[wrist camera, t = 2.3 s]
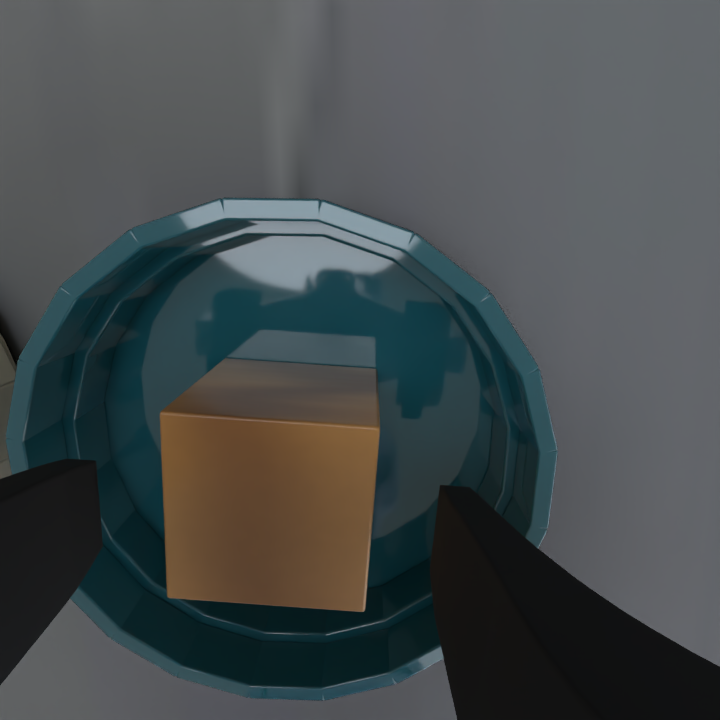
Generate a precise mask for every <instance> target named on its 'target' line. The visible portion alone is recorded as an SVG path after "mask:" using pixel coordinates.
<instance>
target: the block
mask: <svg viewBox="0 0 720 720" xmlns="http://www.w3.org/2000/svg"><path fill="white" fill-rule="evenodd" d="M160 434H161V458H162V483H163V508H164V533H165V557H166V582H167V597H168V598H176V599H190V600H203V601H217V602H231V603H245V604H259V605H272V606H286V607H300V608H314V609H328V610H341V611H355V612H364V610H365V608H366V595H367V583H368V571H369V559H370V547H371V534H372V522H373V510H374V498H375V486H376V473H377V461H378V449H379V437H380V416H379V394H378V373H377V369H372V368H358V367H344V366H329V365H315V364H301V363H286V362H272V361H258V360H243V359H229V358H225V359H223V360H222V361H221V362H220V363H219V364H217V365H216V366H215V367H214V368H213V369H211V370H210V371H209V372H208V373H207V374H205V375H204V376H203V377H202V378H200V379H199V380H198V381H197V382H196V383H194V384H193V385H192V386H191V387H190V388H188V389H187V390H186V391H185V392H184V393H182V394H181V395H180V396H179V397H177V398H176V399H175V400H174V401H173V402H171V403H170V404H169V405H168V406H167V407H165V408H164V409H163V410H162V411H161V412H160Z"/></svg>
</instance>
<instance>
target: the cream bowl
mask: <svg viewBox="0 0 720 720" xmlns="http://www.w3.org/2000/svg"><path fill="white" fill-rule="evenodd" d="M16 368H17V366H16V364H15V362H14V360H13V358H12V355H11V353H10V351H9V349H8V347H7V344H6V342H5V340H4V339H3V337H2V335H1V334H0V479H2V478H4V477H7V476H10V475H12V474H11V469H10V463H9V458H8V452H7V447H6V441H5V440H6V437H5V435H6V429H7V423H8V417H9V411H10V404H11V398H12V392H13V386H14V380H15V374H16Z"/></svg>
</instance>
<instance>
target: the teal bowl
mask: <svg viewBox="0 0 720 720" xmlns="http://www.w3.org/2000/svg"><path fill="white" fill-rule="evenodd" d="M225 358H229V359H243V360H258V361H272V362H286V363H301V364H315V365H329V366H344V367H358V368H372V369H377V373H378V394H379V416H380V437H379V449H378V461H377V473H376V486H375V498H374V510H373V522H372V534H371V547H370V559H369V571H368V583H367V595H366V608H365V610H364V612H355V611H341V610H328V609H314V608H300V607H286V606H272V605H259V604H245V603H231V602H217V601H203V600H190V599H176V598H168V597H167V582H166V557H165V533H164V508H163V483H162V458H161V434H160V412H161V411H162V410H163V409H164V408H165V407H167V406H168V405H169V404H170V403H171V402H173V401H174V400H175V399H176V398H177V397H179V396H180V395H181V394H182V393H184V392H185V391H186V390H187V389H188V388H190V387H191V386H192V385H193V384H194V383H196V382H197V381H198V380H199V379H200V378H202V377H203V376H204V375H205V374H207V373H208V372H209V371H210V370H211V369H213V368H214V367H215V366H216V365H217V364H219V363H220V362H221V361H222V360H223V359H225ZM5 437H6V440H5V441H6V447H7V452H8V458H9V463H10V469H11V474H12V475H13V474H16V473H19V472H22V471H25V470H28V469H31V468H34V467H37V466H40V465H44V464H47V463H51V462H54V461H59V460H63V459H80V460H95V461H96V465H97V477H98V490H99V502H100V515H101V528H102V540H103V547H102V549H101V550H100V552H99V554H98V555H97V557H96V559H95V561H94V562H93V564H92V566H91V567H90V569H89V571H88V572H87V574H86V575H85V577H84V579H83V580H82V582H81V583H80V585H79V586H78V588H77V590H76V591H75V592H74V594H73V595H72V596H71V598H70V599H71V600H72V601H73V602H74V603H75V604H76V605H77V606H78V607H79V608H80V609H81V610H82V611H83V612H84V613H85V614H86V615H87V616H88V617H89V618H90V619H91V620H92V621H93V622H94V623H95V624H96V625H97V626H98V627H99V628H100V629H101V630H102V631H103V632H104V633H105V634H106V635H107V636H108V637H109V638H111V639H112V640H113V641H115V642H117V643H118V644H120V645H122V646H123V647H125V648H127V649H129V650H130V651H132V652H134V653H135V654H137V655H139V656H140V657H142V658H144V659H146V660H147V661H149V662H151V663H152V664H154V665H156V666H158V667H159V668H161V669H163V670H164V671H166V672H168V673H170V674H171V675H173V676H177V678H180V679H184V680H187V681H191V682H194V683H198V684H201V685H205V686H208V687H212V688H215V689H219V690H222V691H226V692H229V693H233V694H236V695H240V696H243V697H246V698H248V697H249V698H256V699H287V700H318V701H323V700H329V699H333V698H338V697H342V696H346V695H351V694H355V693H360V692H364V691H368V690H373V689H377V688H382V687H386V686H391V685H395V684H396V683H400V682H401V681H403V680H405V679H407V678H409V677H411V676H413V675H414V674H416V673H418V672H420V671H422V670H424V669H426V668H428V667H429V666H431V665H433V664H435V663H437V662H439V661H441V660H442V659H444V658H443V653H442V649H441V644H440V639H439V635H438V630H437V626H436V621H435V616H434V607H433V598H432V588H431V577H430V564H431V555H432V547H433V539H434V530H435V522H436V514H437V505H438V497H439V489H440V485H447V486H462V487H470V488H471V489H472V490H474V491H475V492H476V493H477V494H478V495H479V496H480V497H481V498H483V499H484V500H485V501H486V502H487V503H488V504H489V505H490V506H491V507H492V508H493V509H494V510H495V511H496V512H498V513H499V514H500V515H501V516H502V517H503V518H504V519H505V520H506V521H507V522H508V523H509V524H511V525H512V526H513V527H514V528H515V529H516V530H517V531H518V532H519V533H521V534H522V535H523V536H524V537H525V538H526V539H527V540H529V541H530V542H531V543H532V544H533V545H534V546H536V547H537V548H539V546H540V544H541V542H542V540H543V538H544V536H545V534H546V532H547V528H548V526H549V518H550V510H551V502H552V494H553V486H554V478H555V470H556V462H557V455H558V451H557V443H556V439H555V434H554V430H553V426H552V421H551V417H550V412H549V408H548V404H547V399H546V395H545V390H544V386H543V382H542V377H541V373H540V370H539V369H538V365H537V363H536V362H535V360H534V359H533V357H532V356H531V354H530V352H529V351H528V349H527V348H526V346H525V345H524V343H523V341H522V340H521V338H520V337H519V335H518V334H517V332H516V331H515V329H514V327H513V326H512V324H511V323H510V321H509V320H508V318H507V316H506V315H505V313H504V312H503V310H502V309H501V307H500V305H499V304H498V302H497V301H496V299H495V298H494V296H493V295H492V293H490V292H489V290H488V289H487V288H485V287H484V286H483V285H482V284H480V283H479V282H478V281H476V280H475V279H474V278H473V277H471V276H470V275H469V274H468V273H466V272H465V271H464V270H463V269H461V268H460V267H459V266H457V265H456V264H455V263H454V262H452V261H451V260H450V259H449V258H447V257H446V256H445V255H444V254H442V253H441V252H440V251H438V250H437V249H436V248H435V247H433V246H432V245H431V244H430V243H428V242H427V241H426V240H424V239H423V238H422V237H421V236H419V235H418V234H416V233H414V232H413V231H411V230H408V229H405V228H402V227H399V226H397V225H394V224H391V223H388V222H385V221H382V220H380V219H377V218H374V217H371V216H368V215H365V214H363V213H360V212H357V211H354V210H351V209H349V208H346V207H343V206H340V205H337V204H334V203H332V202H329V201H326V200H320V199H298V198H222V199H220V198H219V199H216V200H213V201H210V202H207V203H204V204H201V205H198V206H195V207H192V208H189V209H186V210H183V211H180V212H177V213H174V214H171V215H168V216H165V217H163V218H160V219H157V220H154V221H151V222H148V223H145V224H142V225H139V226H136V227H133V228H132V229H130V230H128V231H127V232H126V233H124V234H123V235H122V236H121V237H119V238H118V239H117V240H116V241H114V242H113V243H112V244H111V245H110V246H108V247H107V248H106V249H105V250H103V251H102V252H101V253H100V254H98V255H97V256H96V257H95V258H93V259H92V260H91V261H90V262H88V263H87V264H86V265H85V266H84V267H82V268H81V269H80V270H79V271H77V272H76V273H75V274H74V275H72V276H71V277H70V278H69V279H67V280H66V281H65V282H64V283H63V284H62V286H60V287H59V289H58V291H57V292H56V294H55V296H54V297H53V299H52V301H51V303H50V304H49V306H48V308H47V310H46V311H45V313H44V315H43V316H42V318H41V320H40V322H39V323H38V325H37V327H36V329H35V330H34V332H33V334H32V335H31V337H30V339H29V341H28V342H27V344H26V346H25V347H24V349H23V351H22V353H21V354H20V356H19V360H18V362H17V368H16V374H15V380H14V386H13V392H12V398H11V404H10V411H9V417H8V423H7V429H6V435H5Z"/></svg>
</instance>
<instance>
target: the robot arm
mask: <svg viewBox="0 0 720 720" xmlns="http://www.w3.org/2000/svg"><path fill="white" fill-rule="evenodd" d="M102 547H103V540H102V528H101V515H100V502H99V490H98V477H97V465H96V461H95V460H80V459H63V460H59V461H54V462H51V463H47V464H44V465H40V466H37V467H34V468H31V469H28V470H25V471H22V472H19V473H16V474H13V475H10V476H7V477H4V478H2V479H0V685H1V684H2V682H3V681H4V680H5V679H6V677H7V676H8V675H9V674H10V672H11V671H12V670H13V669H14V668H15V666H16V665H17V664H18V663H19V661H20V660H21V659H22V658H23V656H24V655H25V654H26V653H27V651H28V650H29V649H30V648H31V646H32V645H33V644H34V643H35V642H36V640H37V639H38V638H39V637H40V635H41V634H42V633H43V632H44V630H45V629H46V628H47V627H48V625H49V624H50V623H51V622H52V620H53V619H54V618H55V617H56V615H57V614H58V613H59V612H60V610H61V609H62V608H63V607H64V605H65V604H66V603H67V601H68V600H69V599H70V598H71V596H72V595H73V594H74V592H75V591H76V590H77V588H78V586H79V585H80V583H81V582H82V580H83V579H84V577H85V575H86V574H87V572H88V571H89V569H90V567H91V566H92V564H93V562H94V561H95V559H96V557H97V555H98V554H99V552H100V550H101V549H102ZM430 577H431V588H432V598H433V607H434V616H435V621H436V626H437V630H438V635H439V639H440V644H441V649H442V653H443V658H444V662H445V666H446V671H447V675H448V680H449V684H450V689H451V693H452V698H453V702H454V706H455V711H456V715H457V720H720V667H719V666H717V665H715V664H713V663H712V662H710V661H708V660H706V659H704V658H702V657H700V656H698V655H697V654H695V653H693V652H691V651H689V650H688V649H686V648H684V647H682V646H681V645H679V644H677V643H676V642H674V641H672V640H670V639H669V638H667V637H665V636H663V635H662V634H660V633H658V632H656V631H655V630H653V629H651V628H650V627H648V626H646V625H645V624H643V623H641V622H640V621H638V620H637V619H635V618H633V617H632V616H630V615H628V614H627V613H625V612H624V611H622V610H621V609H619V608H618V607H616V606H615V605H613V604H612V603H610V602H609V601H607V600H606V599H605V598H603V597H602V596H600V595H599V594H597V593H596V592H594V591H593V590H591V589H590V588H588V587H587V586H586V585H584V584H583V583H581V582H580V581H579V580H577V579H576V578H575V577H573V576H572V575H571V574H569V573H568V572H567V571H566V570H564V569H563V568H562V567H560V566H559V565H558V564H557V563H555V562H554V561H553V560H552V559H550V558H549V557H548V556H546V555H545V554H544V553H543V552H542V551H540V550H539V549H538V548H537V547H536V546H534V545H533V544H532V543H531V542H530V541H529V540H527V539H526V538H525V537H524V536H523V535H522V534H521V533H519V532H518V531H517V530H516V529H515V528H514V527H513V526H512V525H511V524H509V523H508V522H507V521H506V520H505V519H504V518H503V517H502V516H501V515H500V514H499V513H498V512H496V511H495V510H494V509H493V508H492V507H491V506H490V505H489V504H488V503H487V502H486V501H485V500H484V499H483V498H481V497H480V496H479V495H478V494H477V493H476V492H475V491H474V490H472V489H471V488H470V487H462V486H447V485H440V489H439V497H438V505H437V514H436V522H435V530H434V539H433V547H432V555H431V564H430Z"/></svg>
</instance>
